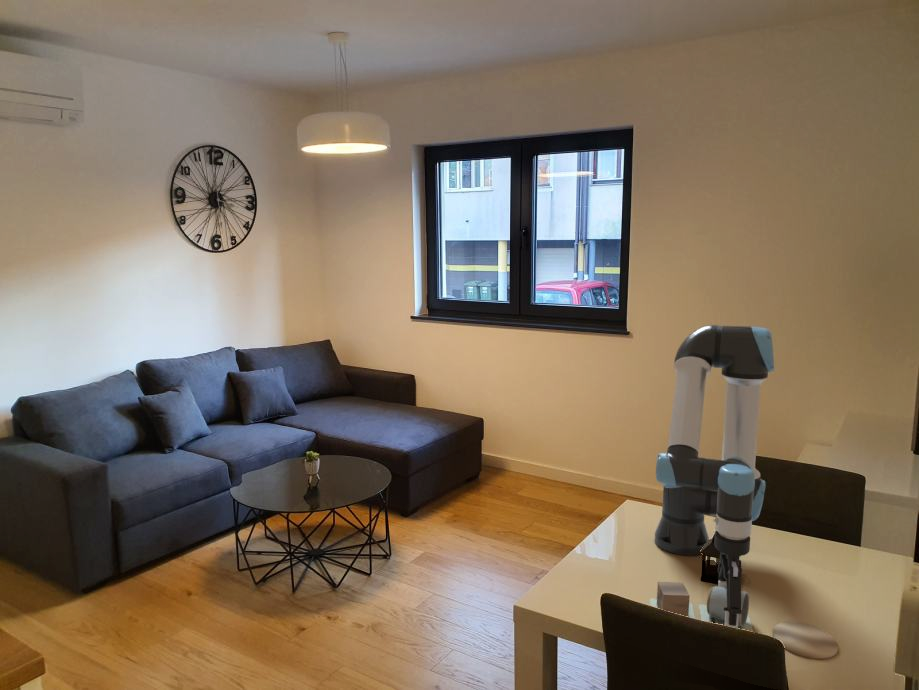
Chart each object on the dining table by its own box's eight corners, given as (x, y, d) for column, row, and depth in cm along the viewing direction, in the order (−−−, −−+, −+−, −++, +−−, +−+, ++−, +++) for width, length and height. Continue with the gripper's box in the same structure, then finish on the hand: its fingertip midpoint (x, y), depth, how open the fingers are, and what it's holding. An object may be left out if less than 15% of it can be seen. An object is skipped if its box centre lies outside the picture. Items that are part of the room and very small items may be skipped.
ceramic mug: (712, 606, 164) (714, 577, 162) (748, 617, 159) (750, 587, 158) (700, 628, 155) (702, 597, 154) (738, 640, 150) (740, 609, 149)
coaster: (767, 620, 158) (767, 618, 158) (828, 628, 155) (828, 625, 155) (779, 654, 146) (779, 651, 146) (846, 662, 143) (846, 660, 143)
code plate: (698, 604, 165) (698, 603, 165) (746, 610, 162) (746, 609, 162) (704, 637, 152) (704, 637, 152) (757, 644, 149) (757, 643, 149)
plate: (649, 598, 168) (649, 598, 168) (692, 603, 165) (692, 603, 165) (651, 621, 158) (651, 620, 158) (696, 626, 156) (696, 626, 156)
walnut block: (656, 604, 165) (657, 581, 164) (681, 605, 164) (682, 582, 163) (662, 618, 159) (663, 594, 158) (688, 619, 159) (689, 595, 158)
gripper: (709, 510, 166) (703, 592, 169) (722, 555, 143) (716, 649, 146) (741, 513, 164) (735, 595, 168) (760, 559, 141) (753, 654, 145)
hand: (726, 620), depth 157 cm, fingers open, 11 cm apart
